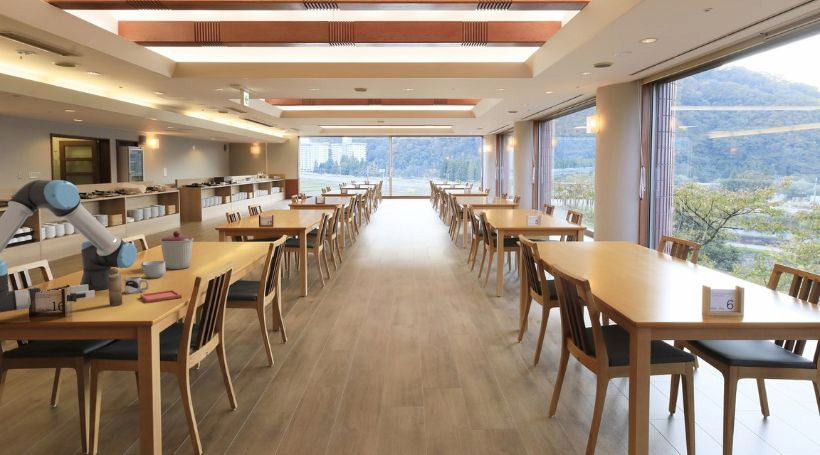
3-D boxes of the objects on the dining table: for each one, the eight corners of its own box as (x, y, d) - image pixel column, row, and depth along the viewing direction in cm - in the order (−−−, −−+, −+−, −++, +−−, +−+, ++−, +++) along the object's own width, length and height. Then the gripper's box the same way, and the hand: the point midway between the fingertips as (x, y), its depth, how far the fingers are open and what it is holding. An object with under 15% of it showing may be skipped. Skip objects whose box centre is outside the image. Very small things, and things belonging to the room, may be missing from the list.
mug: (123, 294, 252) (122, 279, 251) (128, 290, 258) (127, 276, 257) (147, 293, 254) (146, 279, 253) (151, 289, 260) (150, 276, 259)
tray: (140, 297, 245) (140, 294, 244) (173, 293, 254) (173, 289, 253) (147, 303, 236) (147, 299, 235) (181, 297, 244) (181, 294, 244)
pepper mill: (108, 304, 233) (106, 268, 232) (121, 302, 236) (118, 266, 235) (111, 306, 230) (108, 269, 228) (123, 304, 233) (121, 268, 231)
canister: (201, 265, 321) (199, 229, 318) (183, 271, 303) (181, 233, 300) (173, 264, 324) (171, 228, 321) (153, 270, 306) (151, 232, 304)
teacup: (170, 276, 290) (169, 261, 289) (151, 280, 281) (150, 264, 280) (154, 273, 297) (153, 259, 296) (135, 277, 288) (134, 262, 287)
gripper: (26, 301, 223) (86, 293, 237) (33, 315, 204) (98, 305, 217) (24, 283, 222) (85, 276, 236) (31, 295, 203) (97, 286, 217)
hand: (91, 290), depth 227 cm, fingers open, 13 cm apart
